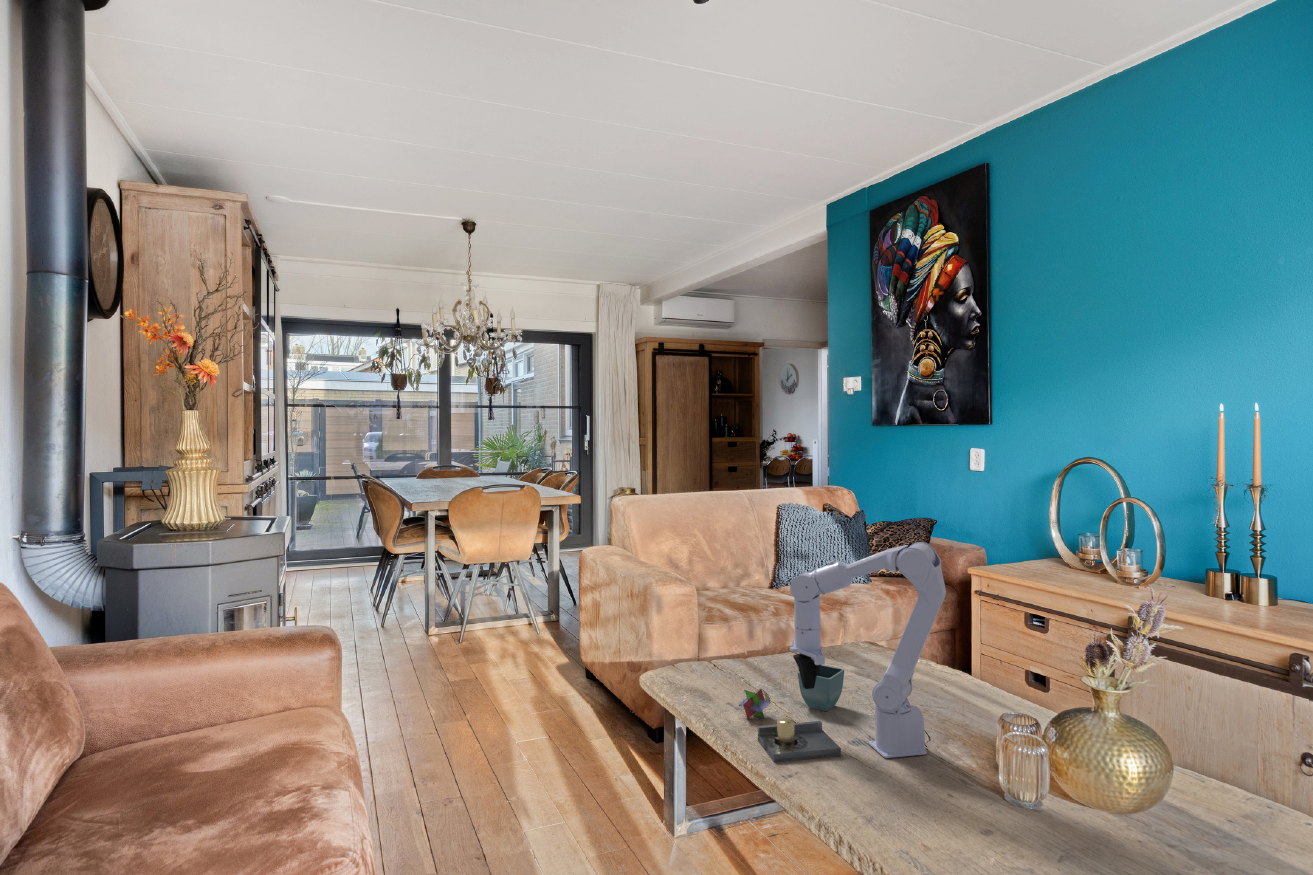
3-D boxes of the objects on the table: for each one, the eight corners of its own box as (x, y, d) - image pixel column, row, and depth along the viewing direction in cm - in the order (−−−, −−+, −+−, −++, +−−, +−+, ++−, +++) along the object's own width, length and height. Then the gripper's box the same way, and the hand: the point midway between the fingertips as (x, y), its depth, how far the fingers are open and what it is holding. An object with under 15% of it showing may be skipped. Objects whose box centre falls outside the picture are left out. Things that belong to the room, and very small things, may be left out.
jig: (820, 735, 165) (820, 720, 165) (841, 755, 154) (840, 740, 155) (757, 740, 163) (757, 726, 163) (774, 762, 152) (773, 746, 152)
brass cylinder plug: (791, 745, 160) (790, 717, 160) (797, 752, 157) (796, 723, 157) (775, 746, 160) (774, 718, 160) (780, 753, 156) (780, 725, 156)
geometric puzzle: (749, 717, 171) (763, 685, 174) (728, 709, 176) (742, 678, 179) (767, 730, 174) (780, 697, 178) (745, 721, 180) (758, 690, 183)
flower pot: (831, 716, 177) (830, 678, 177) (797, 708, 182) (796, 671, 182) (845, 705, 184) (845, 668, 184) (812, 698, 189) (812, 662, 189)
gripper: (779, 620, 173) (780, 678, 173) (802, 636, 159) (803, 700, 159) (808, 618, 174) (809, 676, 174) (833, 634, 160) (834, 697, 160)
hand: (808, 687), depth 167 cm, fingers closed
